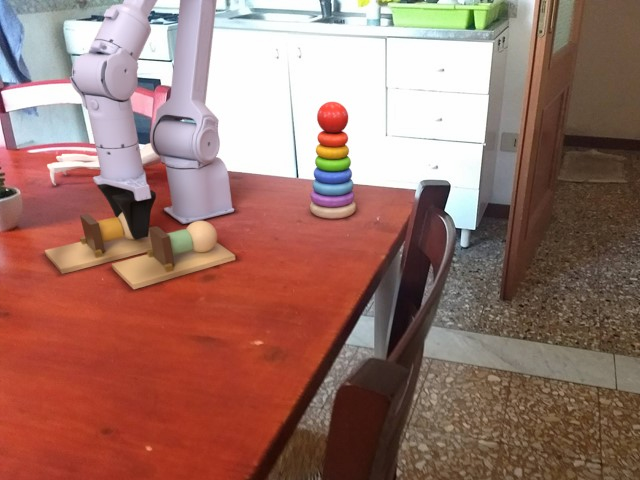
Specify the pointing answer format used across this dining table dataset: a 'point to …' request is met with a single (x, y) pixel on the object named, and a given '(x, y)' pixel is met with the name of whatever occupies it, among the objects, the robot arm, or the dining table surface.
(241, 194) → the dining table surface
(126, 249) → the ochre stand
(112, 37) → the robot arm
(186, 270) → the thin cream rectangular board
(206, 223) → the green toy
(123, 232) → the ochre toy
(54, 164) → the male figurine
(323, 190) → the stacking toy
